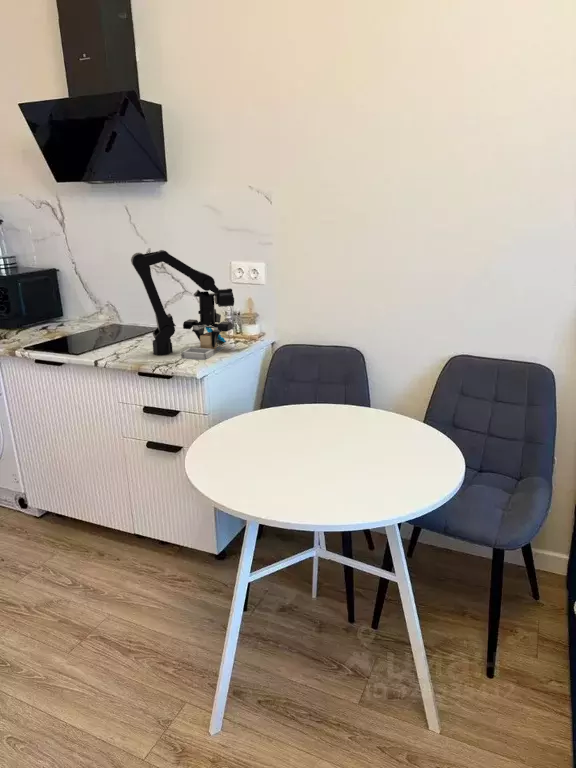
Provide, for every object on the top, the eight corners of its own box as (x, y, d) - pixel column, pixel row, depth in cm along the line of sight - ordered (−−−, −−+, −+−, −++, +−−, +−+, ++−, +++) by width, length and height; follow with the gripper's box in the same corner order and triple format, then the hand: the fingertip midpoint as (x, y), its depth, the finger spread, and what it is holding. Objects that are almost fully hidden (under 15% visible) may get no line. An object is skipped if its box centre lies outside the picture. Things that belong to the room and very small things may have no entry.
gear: (230, 341, 227) (212, 325, 222) (221, 352, 226) (203, 337, 221) (220, 339, 237) (203, 324, 232) (212, 350, 236) (194, 335, 231)
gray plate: (205, 362, 202) (204, 354, 201) (180, 360, 204) (179, 352, 204) (225, 349, 220) (225, 342, 219) (202, 348, 223) (202, 340, 222)
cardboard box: (210, 351, 213) (209, 336, 211) (200, 351, 214) (199, 335, 212) (216, 347, 219) (216, 332, 217) (207, 347, 220) (206, 331, 218)
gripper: (237, 305, 217) (238, 343, 221) (193, 303, 221) (195, 340, 226) (226, 310, 206) (227, 350, 211) (181, 307, 211) (183, 347, 216)
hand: (208, 346), depth 216 cm, fingers closed on cardboard box, 4 cm apart
